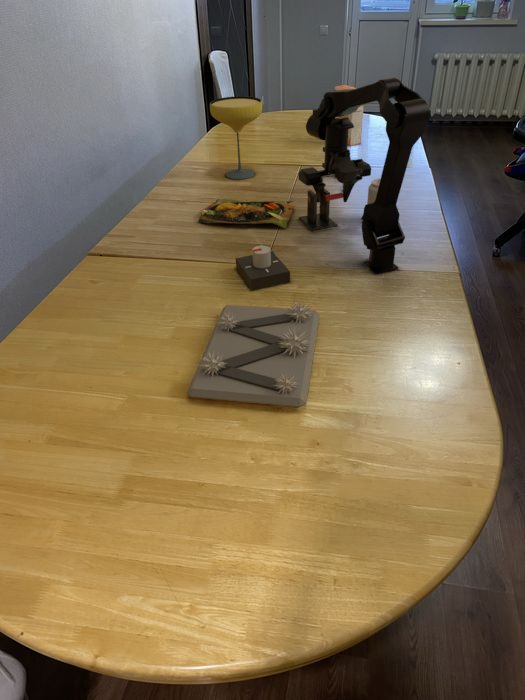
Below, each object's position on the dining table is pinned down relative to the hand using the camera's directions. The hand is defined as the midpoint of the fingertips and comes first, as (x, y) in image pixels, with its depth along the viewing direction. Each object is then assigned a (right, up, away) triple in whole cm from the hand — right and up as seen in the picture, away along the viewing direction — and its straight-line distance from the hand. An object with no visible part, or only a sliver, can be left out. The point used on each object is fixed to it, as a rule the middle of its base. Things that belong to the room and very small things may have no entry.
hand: (333, 204), depth 141 cm
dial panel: (-19, -21, -11) cm, 31 cm away
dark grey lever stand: (-3, -2, +13) cm, 13 cm away
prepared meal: (-24, +1, +19) cm, 30 cm away
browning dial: (-19, -19, -13) cm, 30 cm away
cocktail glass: (-28, +25, +51) cm, 64 cm away
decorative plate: (-20, -41, -38) cm, 59 cm away
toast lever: (-2, +2, +4) cm, 5 cm away
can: (+15, -2, +13) cm, 20 cm away
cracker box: (+17, +50, +81) cm, 97 cm away
